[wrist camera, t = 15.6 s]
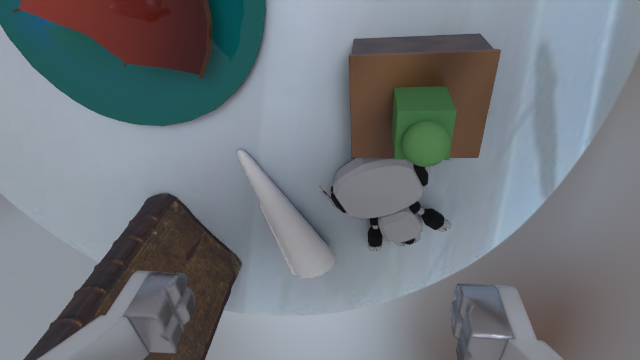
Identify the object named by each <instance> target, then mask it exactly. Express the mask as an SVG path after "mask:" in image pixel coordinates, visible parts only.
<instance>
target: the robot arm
mask: <svg viewBox="0 0 640 360" xmlns="http://www.w3.org/2000/svg"><path fill="white" fill-rule="evenodd" d="M188 281H189V280H188V278H187V276H186V274H185V273H171V272H156V271H136V272H135V273H134V274H132V276H131V277H130V279H129V280H128V282H127V283H126V285H125V286H124V288H123V290H122V291H121V293H120V294H119V296H118V297H117V299H116V300H115V302H114V303H113V305H112V306H111V308H110V309H109V311H108V312H107V314H106V315H101V316H99V317H98V318H96V319H95V320H93V321H92V322H91V323H89V324H88V325H86V326H85V327H83V328H82V329H80V330H79V331H78V332H76V333H75V334H73V335H72V336H70V337H69V338H67V339H66V340H64V341H63V342H62V343H60V344H59V345H57V346H56V347H54V348H53V349H51V350H50V351H49V352H47V353H46V354H44V355H43V356H41V357H40V358H38V359H37V360H143V359H145V358H146V357H147V356H148V355H149V352H157V353H176V351H177V349H178V347H179V344H180V342H181V340H182V338H183V335H184V329H183V325H185V324H186V323H187V322H188V321H189V320H190V319H191V317H192V315H193V312H194V308H195V294H194V292H193V290H192V289H191V288H190V287H188V286H187V283H188ZM454 293H455V297H456V300H454V301H453V302H452V307H451V325H452V331H453V335H454V336H455V337H456V339H457V340H458V344H457V349H456V352H457V357H458V360H564V359H563V358H561V357H560V356H559V355H558V354H557V353H556V352H555V351H554V350H553V349H552V348H550V347H549V346H548V345H547V344H546V343H545V342H544V341H538V340H537V339H536V336H535V333H534V331H533V328H532V326H531V323H530V321H529V318H528V316H527V313H526V311H525V308H524V306H523V303H522V301H521V298H520V296H519V293H518V291H517V289H516V288H515V287H514V286H501V285H500V286H499V285H484V284H457V285H456V288H455V292H454Z"/></svg>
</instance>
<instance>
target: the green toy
mask: <svg viewBox="0 0 640 360" xmlns="http://www.w3.org/2000/svg"><path fill="white" fill-rule="evenodd" d="M455 118H456V108H455V106H454V104H453V102H452V99H451V97H450V95H449V92H448V90H447V88H446V86H433V87H395V88H394V98H393V118H392V138H393V148H394V158H395V159H408V160H409V161H410V162H412V163H413V164H415V165H417V166H421V167H430V166H434V165H436V164H438V163H440V162H441V161H442V160H443V159H449V156H450V149H451V143H452V137H453V130H454V124H455Z"/></svg>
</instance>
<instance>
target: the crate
mask: <svg viewBox="0 0 640 360" xmlns="http://www.w3.org/2000/svg"><path fill="white" fill-rule="evenodd" d="M500 52H501V50H500V49H493V48H492V46H491V45H490V44H489V43H488V42H487V41H486V40H485V39H484V37H483V36H482V35H481V34H461V35H437V36H414V37H390V38H367V39H354V43H353V51H352V54H351V55H349V72H350V113H351V153H352V158H394V148H393V138H392V118H393V98H394V88H395V87H433V86H446V88H447V90H448V92H449V95H450V97H451V99H452V102H453V104H454V106H455V108H456V118H455V124H454V130H453V137H452V143H451V149H450V156H449V158H478V157H479V152H480V147H481V143H482V138H483V133H484V128H485V124H486V119H487V114H488V109H489V105H490V100H491V95H492V90H493V85H494V81H495V76H496V71H497V66H498V62H499V57H500Z"/></svg>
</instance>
